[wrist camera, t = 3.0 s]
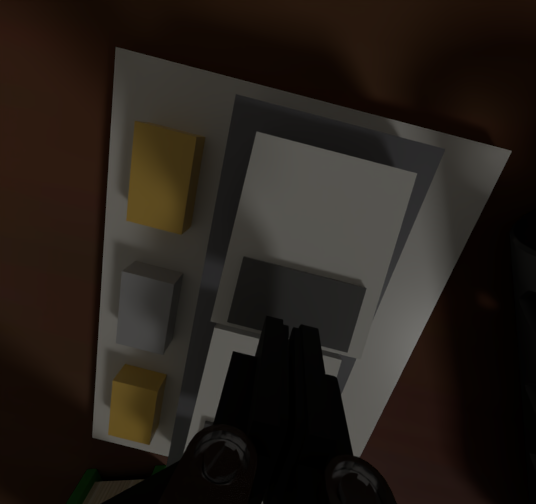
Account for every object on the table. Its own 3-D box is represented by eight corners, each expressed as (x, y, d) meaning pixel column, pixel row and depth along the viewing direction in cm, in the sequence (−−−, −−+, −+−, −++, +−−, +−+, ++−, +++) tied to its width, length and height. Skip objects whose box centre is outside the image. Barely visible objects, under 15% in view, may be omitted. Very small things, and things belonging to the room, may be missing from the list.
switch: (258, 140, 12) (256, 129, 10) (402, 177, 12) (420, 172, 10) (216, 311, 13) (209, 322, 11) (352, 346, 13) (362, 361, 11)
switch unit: (127, 53, 16) (36, 6, 11) (497, 150, 17) (606, 156, 11) (100, 424, 26) (44, 507, 20) (336, 483, 26) (349, 582, 20)
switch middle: (219, 318, 15) (213, 329, 13) (336, 348, 15) (342, 362, 13) (186, 449, 15) (178, 473, 14) (298, 477, 15) (300, 503, 14)
